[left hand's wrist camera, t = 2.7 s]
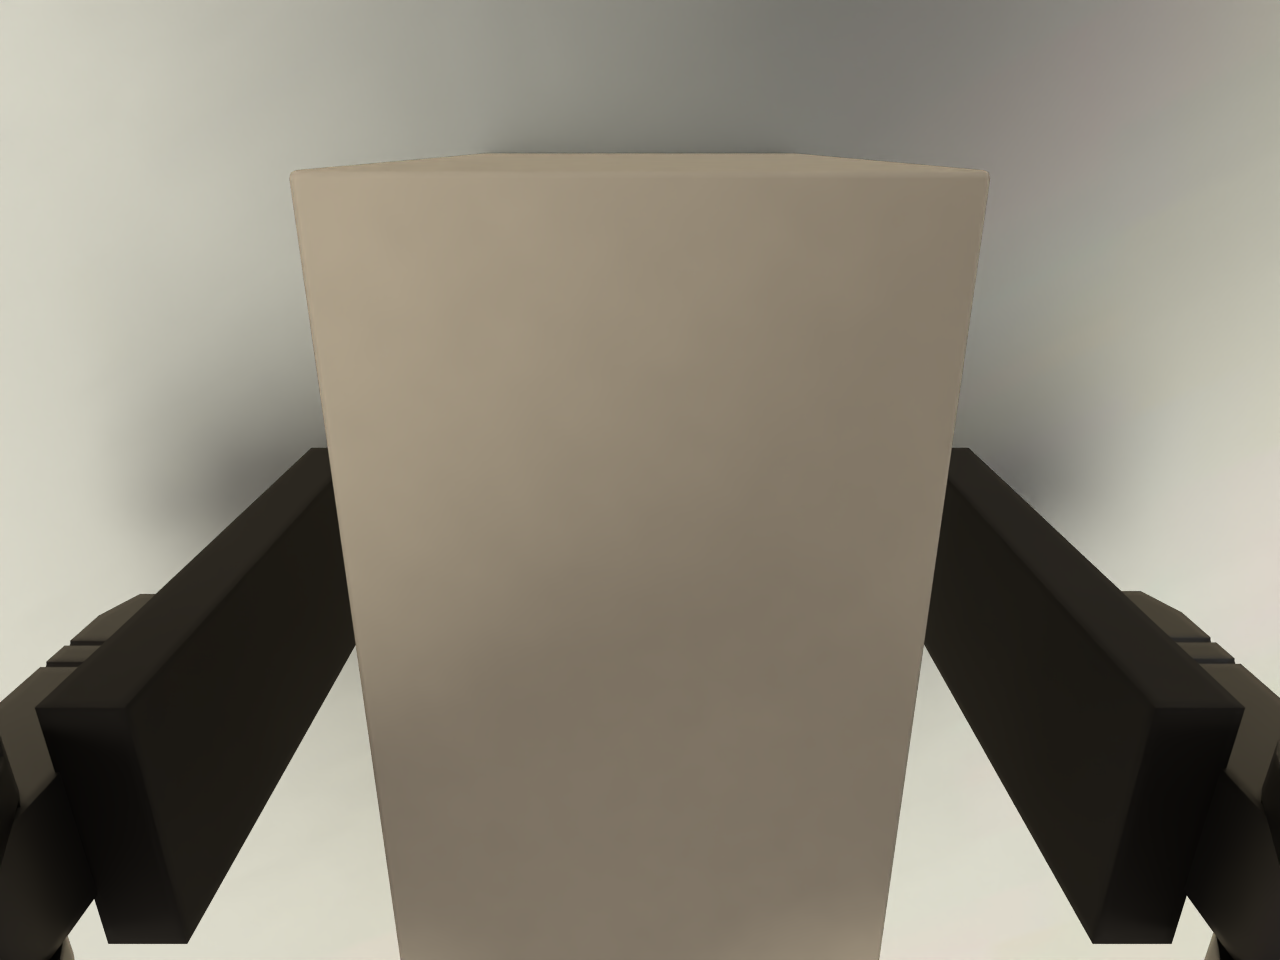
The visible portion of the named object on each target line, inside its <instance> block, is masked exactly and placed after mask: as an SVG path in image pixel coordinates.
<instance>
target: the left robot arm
mask: <svg viewBox="0 0 1280 960" xmlns="http://www.w3.org/2000/svg"><path fill="white" fill-rule="evenodd" d="M70 642H71V643H70V646H64V647H63V648H62V649H60V650H59V651H58V652H57V653H56V654H55V655H54V656H52V657H51V658H50V659H49V660H48V661H47V665H46V667H40V668H39V669H38V670H37V671H35V672H34V673H33V674H32V675H31V676H30V677H29V678H27V679H26V680H25V681H24V682H23V683H22V684H21V685H19V686H18V687H17V688H16V689H15V690H14V691H13V692H12V693H10V694H9V695H8V696H7V697H6V698H5V699H4V700H2V701H1V702H0V960H74V954H73V951H72V948H71V945H70V942H69V939H68V934H69V933H70V932H71V930H72V929H73V927H74V926H75V925H76V923H77V922H78V920H79V919H80V918H81V916H82V915H83V913H84V912H85V911H86V909H87V908H88V907H89V905H90V904H91V902H92V901H93V900H94V899H95V902H96V906H97V909H98V912H99V915H100V918H101V922H102V925H103V928H104V931H105V934H106V938H107V941H108V944H187V943H188V942H189V940H190V938H191V936H192V934H193V933H194V931H195V929H196V927H197V926H198V924H199V922H200V920H201V918H202V917H203V915H204V913H205V911H206V910H207V908H208V906H209V904H210V903H211V901H212V899H213V897H214V895H215V894H216V892H217V890H218V888H219V887H220V885H221V883H222V881H223V879H224V878H225V876H226V874H227V872H228V871H229V869H230V867H231V865H232V863H233V862H234V860H235V858H236V856H237V855H238V853H239V851H240V849H241V847H242V846H243V844H244V842H245V840H246V839H247V837H248V835H249V833H250V831H251V830H252V828H253V826H254V824H255V823H256V821H257V819H258V817H259V816H260V814H261V812H262V810H263V808H264V807H265V805H266V803H267V801H268V800H269V798H270V796H271V794H272V792H273V791H274V789H275V787H276V785H277V784H278V782H279V780H280V778H281V776H282V775H283V773H284V771H285V769H286V768H287V766H288V764H289V762H290V760H291V759H292V757H293V755H294V753H295V752H296V750H297V748H298V746H299V744H300V743H301V741H302V739H303V737H304V736H305V734H306V732H307V730H308V728H309V727H310V725H311V723H312V721H313V720H314V718H315V716H316V714H317V713H318V711H319V709H320V707H321V705H322V704H323V702H324V700H325V698H326V697H327V695H328V693H329V691H330V689H331V688H332V686H333V684H334V682H335V681H336V679H337V677H338V675H339V673H340V672H341V670H342V668H343V666H344V665H345V663H346V661H347V659H348V657H349V656H350V654H351V652H352V650H353V649H354V647H355V645H356V643H355V635H354V628H353V621H352V614H351V607H350V600H349V593H348V586H347V579H346V572H345V565H344V558H343V551H342V544H341V537H340V530H339V523H338V516H337V509H336V502H335V495H334V488H333V481H332V474H331V467H330V460H329V453H328V448H311V449H310V450H309V451H308V452H307V453H306V454H305V455H303V456H302V457H301V458H300V459H299V460H298V461H297V462H296V463H295V464H294V465H293V466H292V467H291V468H290V469H289V470H287V471H286V472H285V473H284V474H283V475H282V476H281V477H280V478H279V479H278V480H277V481H276V482H275V483H274V484H273V485H271V486H270V487H269V488H268V489H267V490H266V491H265V492H264V493H263V494H262V495H261V496H260V497H259V498H258V499H257V500H256V501H254V502H253V503H252V504H251V505H250V506H249V507H248V508H247V509H246V510H245V511H244V512H243V513H242V514H241V515H240V516H238V517H237V518H236V519H235V520H234V521H233V522H232V523H231V524H230V525H229V526H228V527H227V528H226V529H225V530H224V531H222V532H221V533H220V534H219V535H218V536H217V537H216V538H215V539H214V540H213V541H212V542H211V543H210V544H209V545H208V546H206V547H205V548H204V549H203V550H202V551H201V552H200V553H199V554H198V555H197V556H196V557H195V558H194V559H193V560H192V561H190V562H189V563H188V564H187V565H186V566H185V567H184V568H183V569H182V570H181V571H180V572H179V573H178V574H177V575H176V576H174V577H173V578H172V579H171V580H170V581H169V582H168V583H167V584H166V585H165V586H164V587H163V588H162V589H161V590H160V591H158V592H157V593H156V594H139V595H137V596H135V597H134V598H132V599H130V600H128V601H126V602H124V603H122V604H120V605H118V606H116V607H114V608H113V609H111V610H109V611H107V612H105V613H103V614H101V615H99V616H98V617H97V618H96V619H95V620H93V621H92V622H91V623H90V624H89V625H88V626H87V627H85V628H84V629H83V630H82V631H81V632H80V633H79V634H77V635H76V636H75V637H74V638H73V639H72V640H71V641H70ZM924 645H925V647H926V649H927V650H928V652H929V654H930V656H931V657H932V659H933V661H934V663H935V665H936V666H937V668H938V670H939V672H940V673H941V675H942V677H943V679H944V681H945V682H946V684H947V686H948V688H949V689H950V691H951V693H952V695H953V697H954V698H955V700H956V702H957V704H958V705H959V707H960V709H961V711H962V712H963V714H964V716H965V718H966V720H967V721H968V723H969V725H970V727H971V728H972V730H973V732H974V734H975V736H976V737H977V739H978V741H979V743H980V744H981V746H982V748H983V750H984V752H985V753H986V755H987V757H988V759H989V760H990V762H991V764H992V766H993V768H994V769H995V771H996V773H997V775H998V776H999V778H1000V780H1001V782H1002V784H1003V785H1004V787H1005V789H1006V791H1007V792H1008V794H1009V796H1010V798H1011V799H1012V801H1013V803H1014V805H1015V807H1016V808H1017V810H1018V812H1019V814H1020V815H1021V817H1022V819H1023V821H1024V823H1025V824H1026V826H1027V828H1028V830H1029V831H1030V833H1031V835H1032V837H1033V839H1034V840H1035V842H1036V844H1037V846H1038V847H1039V849H1040V851H1041V853H1042V855H1043V856H1044V858H1045V860H1046V862H1047V863H1048V865H1049V867H1050V869H1051V871H1052V872H1053V874H1054V876H1055V878H1056V879H1057V881H1058V883H1059V885H1060V887H1061V888H1062V890H1063V892H1064V894H1065V895H1066V897H1067V899H1068V901H1069V902H1070V904H1071V906H1072V908H1073V910H1074V911H1075V913H1076V915H1077V917H1078V918H1079V920H1080V922H1081V924H1082V926H1083V927H1084V929H1085V931H1086V933H1087V934H1088V936H1089V938H1090V940H1091V942H1092V943H1093V944H1172V941H1173V938H1174V935H1175V931H1176V928H1177V925H1178V922H1179V919H1180V915H1181V912H1182V909H1183V906H1184V903H1185V899H1186V896H1188V898H1189V899H1190V900H1191V902H1192V903H1193V905H1194V906H1195V907H1196V909H1197V910H1198V911H1199V913H1200V914H1201V916H1202V917H1203V918H1204V920H1205V921H1206V923H1207V924H1208V925H1209V927H1210V928H1211V929H1212V931H1213V932H1214V933H1213V936H1212V939H1211V942H1210V945H1209V948H1208V951H1207V954H1206V957H1205V960H1280V698H1279V697H1278V696H1277V695H1276V694H1275V693H1273V692H1272V691H1271V690H1270V689H1269V688H1268V687H1267V686H1265V685H1264V684H1263V683H1262V682H1261V681H1260V680H1259V679H1257V678H1256V677H1255V676H1254V675H1253V674H1252V673H1251V672H1249V671H1248V670H1247V669H1246V668H1245V667H1244V666H1243V665H1241V664H1235V662H1234V659H1235V658H1233V657H1232V656H1231V655H1230V654H1229V653H1228V652H1226V651H1225V650H1224V649H1223V648H1222V647H1221V646H1220V645H1218V644H1217V643H1211V641H1210V637H1209V636H1208V635H1207V634H1206V633H1205V632H1204V631H1202V630H1201V629H1200V628H1199V627H1198V626H1197V625H1196V624H1194V623H1193V622H1192V621H1191V620H1190V619H1189V618H1188V617H1186V616H1185V615H1184V614H1183V613H1182V612H1180V611H1178V610H1176V609H1174V608H1172V607H1170V606H1168V605H1166V604H1164V603H1162V602H1161V601H1159V600H1157V599H1155V598H1153V597H1151V596H1149V595H1147V594H1145V593H1143V592H1141V591H1120V590H1119V589H1118V588H1117V587H1116V586H1115V585H1114V584H1113V583H1112V582H1111V581H1110V580H1109V579H1108V578H1107V577H1106V576H1104V575H1103V574H1102V573H1101V572H1100V571H1099V570H1098V569H1097V568H1096V567H1095V566H1094V565H1093V564H1092V563H1091V562H1090V561H1088V560H1087V559H1086V558H1085V557H1084V556H1083V555H1082V554H1081V553H1080V552H1079V551H1078V550H1077V549H1076V548H1075V547H1074V546H1072V545H1071V544H1070V543H1069V542H1068V541H1067V540H1066V539H1065V538H1064V537H1063V536H1062V535H1061V534H1060V533H1059V532H1058V531H1056V530H1055V529H1054V528H1053V527H1052V526H1051V525H1050V524H1049V523H1048V522H1047V521H1046V520H1045V519H1044V518H1043V517H1042V516H1040V515H1039V514H1038V513H1037V512H1036V511H1035V510H1034V509H1033V508H1032V507H1031V506H1030V505H1029V504H1028V503H1027V502H1026V501H1025V500H1023V499H1022V498H1021V497H1020V496H1019V495H1018V494H1017V493H1016V492H1015V491H1014V490H1013V489H1012V488H1011V487H1010V486H1009V485H1007V484H1006V483H1005V482H1004V481H1003V480H1002V479H1001V478H1000V477H999V476H998V475H997V474H996V473H995V472H994V471H993V470H991V469H990V468H989V467H988V466H987V465H986V464H985V463H984V462H983V461H982V460H981V459H980V458H979V457H978V456H977V455H975V454H974V453H973V452H972V451H971V450H970V449H969V448H952V449H951V456H950V463H949V470H948V478H947V485H946V492H945V499H944V506H943V513H942V520H941V527H940V534H939V541H938V548H937V555H936V562H935V569H934V576H933V583H932V590H931V597H930V604H929V611H928V618H927V625H926V633H925V640H924Z"/></svg>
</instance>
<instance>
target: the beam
mask: <svg viewBox="0 0 1280 960" xmlns="http://www.w3.org/2000/svg"><path fill="white" fill-rule="evenodd" d="M989 182H990V176H989V173H988V172H986V171H984V170H976V169H964V168H953V167H942V166H931V165H919V164H908V163H897V162H886V161H874V160H863V159H852V158H841V157H829V156H818V155H807V154H796V153H484V154H473V155H462V156H450V157H439V158H428V159H417V160H405V161H394V162H383V163H372V164H360V165H349V166H338V167H326V168H315V169H304V170H296V171H293V172H291V174H290V185H291V192H292V199H293V206H294V213H295V221H296V228H297V235H298V242H299V249H300V256H301V263H302V270H303V277H304V284H305V291H306V298H307V305H308V312H309V319H310V326H311V333H312V340H313V347H314V354H315V361H316V368H317V375H318V382H319V389H320V396H321V403H322V410H323V417H324V424H325V432H326V439H327V446H328V453H329V460H330V467H331V474H332V481H333V488H334V495H335V502H336V509H337V516H338V523H339V530H340V537H341V544H342V551H343V558H344V565H345V572H346V579H347V586H348V593H349V600H350V607H351V614H352V621H353V628H354V635H355V643H356V650H357V657H358V664H359V671H360V678H361V685H362V692H363V699H364V706H365V713H366V720H367V727H368V734H369V741H370V748H371V755H372V762H373V769H374V776H375V783H376V790H377V797H378V804H379V811H380V818H381V825H382V832H383V839H384V847H385V854H386V861H387V868H388V875H389V882H390V889H391V896H392V903H393V910H394V917H395V924H396V931H397V938H398V945H399V952H400V959H401V960H879V957H880V950H881V943H882V935H883V928H884V921H885V914H886V907H887V900H888V893H889V886H890V879H891V872H892V865H893V858H894V851H895V844H896V837H897V830H898V823H899V816H900V809H901V802H902V795H903V788H904V780H905V773H906V766H907V759H908V752H909V745H910V738H911V731H912V724H913V717H914V710H915V703H916V696H917V689H918V682H919V675H920V668H921V661H922V654H923V647H924V640H925V633H926V625H927V618H928V611H929V604H930V597H931V590H932V583H933V576H934V569H935V562H936V555H937V548H938V541H939V534H940V527H941V520H942V513H943V506H944V499H945V492H946V485H947V478H948V470H949V463H950V456H951V449H952V442H953V435H954V428H955V421H956V414H957V407H958V400H959V393H960V386H961V379H962V372H963V365H964V358H965V351H966V344H967V337H968V330H969V323H970V315H971V308H972V301H973V294H974V287H975V280H976V273H977V266H978V259H979V252H980V245H981V238H982V231H983V224H984V217H985V210H986V203H987V196H988V189H989Z"/></svg>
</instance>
